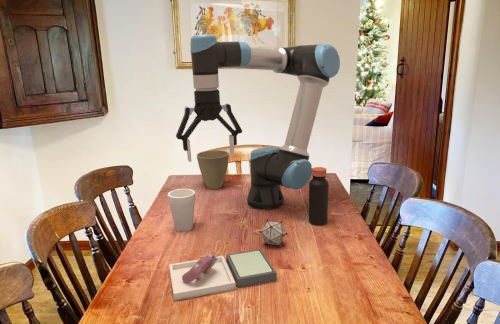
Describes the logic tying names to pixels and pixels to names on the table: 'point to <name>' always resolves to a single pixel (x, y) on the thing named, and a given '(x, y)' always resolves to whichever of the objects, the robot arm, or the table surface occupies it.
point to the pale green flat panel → (250, 264)
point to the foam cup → (182, 208)
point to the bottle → (318, 197)
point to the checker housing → (255, 278)
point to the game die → (273, 232)
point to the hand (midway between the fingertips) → (211, 158)
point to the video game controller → (200, 268)
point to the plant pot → (213, 167)
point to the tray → (201, 280)
